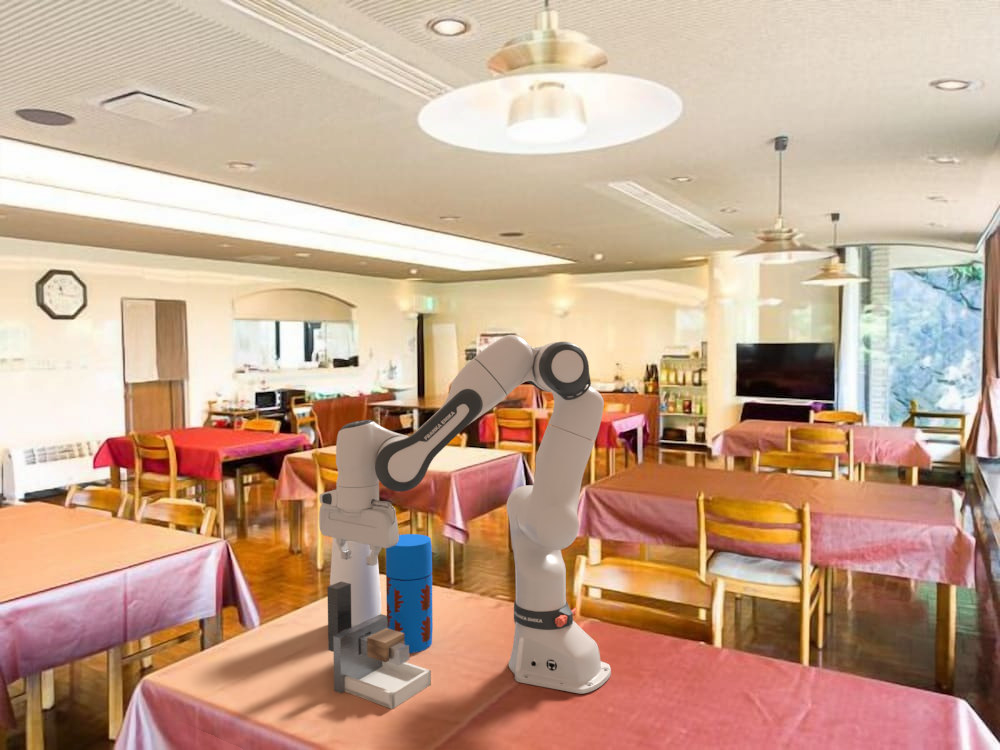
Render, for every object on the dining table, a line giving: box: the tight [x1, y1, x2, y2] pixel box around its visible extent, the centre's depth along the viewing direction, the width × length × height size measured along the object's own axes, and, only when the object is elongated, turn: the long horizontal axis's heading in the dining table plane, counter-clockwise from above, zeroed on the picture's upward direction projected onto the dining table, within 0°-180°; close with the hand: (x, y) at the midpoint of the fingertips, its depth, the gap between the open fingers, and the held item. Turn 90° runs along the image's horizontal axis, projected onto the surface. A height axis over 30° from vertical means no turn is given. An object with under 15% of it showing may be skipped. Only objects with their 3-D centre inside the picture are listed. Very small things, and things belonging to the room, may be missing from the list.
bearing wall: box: [333, 613, 388, 694], centre depth 150 cm, size 2×14×12 cm, turn 147°
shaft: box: [326, 582, 410, 665], centre depth 149 cm, size 20×4×14 cm, turn 56°
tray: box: [344, 661, 432, 710], centre depth 146 cm, size 13×12×3 cm
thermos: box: [385, 533, 434, 654], centre depth 167 cm, size 11×11×25 cm
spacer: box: [367, 628, 404, 662], centre depth 146 cm, size 5×6×4 cm
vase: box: [329, 537, 382, 628], centre depth 177 cm, size 13×13×28 cm
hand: (358, 561), depth 150 cm, fingers open, 6 cm apart
